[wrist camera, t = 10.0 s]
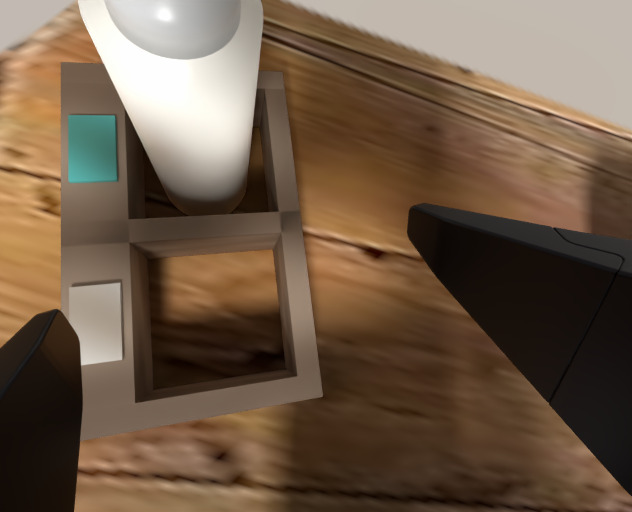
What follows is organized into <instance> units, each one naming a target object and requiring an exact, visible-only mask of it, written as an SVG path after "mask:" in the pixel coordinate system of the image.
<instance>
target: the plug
mask: <svg viewBox="0 0 632 512" xmlns="http://www.w3.org/2000/svg"><path fill="white" fill-rule="evenodd" d="M78 4H79V9H80V13H81V16H82V18H83V21H84V23H85V26H86V28H87V30H88V32H89V34H90V36H91V38H92V40H93V42H94V44H95V46H96V48H97V51H98V53H99V55H100V57H101V59H102V61H103V63H104V65H105V67H106V69H107V71H108V73H109V76H110V78H111V80H112V82H113V84H114V86H115V88H116V90H117V92H118V94H119V96H120V99H121V101H122V103H123V105H124V107H125V109H126V111H127V113H128V115H129V117H130V119H131V121H132V124H133V126H134V128H135V130H136V132H137V134H138V136H139V138H140V140H141V142H142V144H143V147H144V149H145V151H146V153H147V155H148V157H149V159H150V161H151V163H152V165H153V167H154V169H155V172H156V174H157V176H158V178H159V180H160V182H161V184H162V186H163V188H164V190H165V192H166V194H167V196H168V198H169V200H170V201H171V202H172V204H173V205H174V206H175V207H176V208H177V209H179V210H180V211H181V212H183V213H185V214H187V215H189V216H204V215H223V214H228V213H230V212H231V211H233V210H234V209H235V208H236V207H237V206H238V205H239V204H240V202H241V201H242V199H243V197H244V195H245V191H246V186H247V177H248V167H249V157H250V147H251V137H252V128H253V118H254V108H255V98H256V88H257V79H258V69H259V59H260V49H261V40H262V30H263V8H262V3H261V0H78Z"/></svg>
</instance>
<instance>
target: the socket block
mask: <svg viewBox="0 0 632 512" xmlns="http://www.w3.org/2000/svg"><path fill="white" fill-rule="evenodd" d="M253 127H260V134H261V144H262V153H263V162H264V171H265V181H266V190H267V199H268V208H269V212H262V213H243V214H223V215H204V216H185V217H165V218H146V208H145V186H144V163H143V144H142V142H141V140H140V138H139V136H138V134H137V132H136V130H135V128H134V126H133V124H132V121H131V119H130V117H129V115H128V113H127V111H126V109H125V107H124V105H123V103H122V101H121V99H120V96H119V94H118V92H117V90H116V88H115V86H114V84H113V82H112V80H111V78H110V76H109V73H108V71H107V69H106V67H105V65H104V64H94V63H71V62H61V312H62V313H63V314H64V315H65V317H66V318H67V320H68V321H69V323H70V324H71V326H72V327H73V329H74V330H75V332H76V333H77V335H78V337H79V341H80V352H81V370H82V389H83V412H82V424H81V436H80V441H83V440H89V439H94V438H100V437H105V436H111V435H116V434H121V433H127V432H132V431H138V430H143V429H149V428H154V427H160V426H165V425H171V424H176V423H182V422H187V421H193V420H198V419H204V418H209V417H215V416H220V415H226V414H231V413H237V412H242V411H248V410H253V409H259V408H264V407H269V406H275V405H280V404H286V403H291V402H297V401H302V400H308V399H313V398H319V397H323V392H322V384H321V376H320V368H319V360H318V352H317V344H316V336H315V328H314V320H313V312H312V304H311V296H310V288H309V279H308V271H307V263H306V255H305V247H304V239H303V231H302V223H301V215H300V207H299V199H298V191H297V183H296V175H295V167H294V159H293V151H292V143H291V135H290V127H289V119H288V111H287V103H286V95H285V87H284V79H283V72H279V71H258V79H257V88H256V98H255V108H254V118H253ZM269 249H273V254H274V264H275V273H276V282H277V291H278V301H279V310H280V319H281V328H282V338H283V347H284V356H285V365H286V369H281V370H275V371H269V372H262V373H256V374H250V375H243V376H237V377H231V378H224V379H218V380H212V381H206V382H199V383H193V384H187V385H180V386H174V387H168V388H161V389H155V390H154V386H153V364H152V342H151V319H150V297H149V275H148V259H152V258H165V257H178V256H191V255H204V254H217V253H230V252H243V251H256V250H269Z"/></svg>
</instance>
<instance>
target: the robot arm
mask: <svg viewBox="0 0 632 512" xmlns="http://www.w3.org/2000/svg"><path fill="white" fill-rule="evenodd" d="M407 234H408V237H409V239H410V241H411V242H412V244H413V245H414V247H415V248H416V249H417V251H418V252H419V254H420V255H421V256H422V258H423V259H424V261H425V262H426V263H427V265H428V266H429V268H430V269H431V271H432V272H433V273H434V274H435V276H436V277H437V278H438V279H439V281H440V282H441V283H442V284H443V285H444V286H445V288H446V289H447V290H448V291H449V292H450V293H451V294H452V295H453V297H454V298H455V299H456V300H457V301H458V302H459V303H460V304H461V306H462V307H463V308H464V309H465V310H466V311H467V312H468V313H469V315H470V316H471V317H472V318H473V319H474V320H475V321H476V322H477V324H478V325H479V326H480V327H481V328H482V329H483V330H484V331H485V333H486V334H487V335H488V336H489V337H490V338H491V339H492V340H493V342H494V343H495V344H496V345H497V346H498V347H499V348H500V349H501V351H502V352H503V353H504V354H505V355H506V356H507V357H508V358H509V360H510V361H511V362H512V363H513V364H514V365H515V366H516V367H517V369H518V370H519V371H520V372H521V373H522V374H523V375H524V376H525V378H526V379H527V380H528V381H529V382H530V383H531V384H532V385H533V387H534V388H535V389H536V390H537V391H538V392H539V393H540V394H541V396H542V397H543V398H544V399H545V400H546V401H547V402H548V403H549V405H550V406H551V407H552V408H553V409H554V410H555V412H556V413H557V414H558V415H559V416H560V417H561V418H562V419H563V421H564V422H565V423H566V424H567V425H568V426H569V427H570V428H571V430H572V431H573V432H574V433H575V434H576V435H577V436H578V437H579V439H580V440H581V441H582V442H583V443H584V444H585V445H586V446H587V448H588V449H589V450H590V451H591V452H592V453H593V454H594V456H595V457H596V458H597V459H598V460H599V461H600V462H601V463H602V465H603V466H604V467H605V468H606V469H607V470H608V471H609V472H610V474H611V475H612V476H613V477H614V478H615V479H616V480H617V481H618V483H619V484H620V485H621V486H622V487H623V488H624V489H625V490H626V491H627V492H628V493H629V494H630V495H631V496H632V240H629V239H622V238H615V237H608V236H602V235H595V234H589V233H584V232H578V231H572V230H567V229H561V228H556V227H554V228H552V227H550V226H545V225H540V224H534V223H529V222H523V221H518V220H513V219H507V218H502V217H497V216H491V215H486V214H481V213H475V212H470V211H465V210H459V209H454V208H448V207H443V206H438V205H432V204H427V203H421V204H418V205H414V206H412V207H411V208H410V210H409V215H408V227H407ZM82 412H83V389H82V370H81V352H80V341H79V337H78V335H77V333H76V332H75V330H74V329H73V327H72V326H71V324H70V323H69V321H68V320H67V318H66V317H65V315H64V314H63V313H62V312H61V311H60V310H58V309H53V310H50V311H46V312H43V313H39V314H37V315H35V316H34V317H33V318H32V319H31V320H30V321H29V322H28V323H27V324H26V325H24V326H23V327H22V328H21V329H20V330H19V331H18V332H17V333H16V334H15V335H14V336H13V337H12V338H11V339H10V340H9V341H7V342H6V343H5V344H4V345H3V346H2V347H1V348H0V512H74V506H75V494H76V483H77V471H78V459H79V448H80V436H81V424H82Z"/></svg>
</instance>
